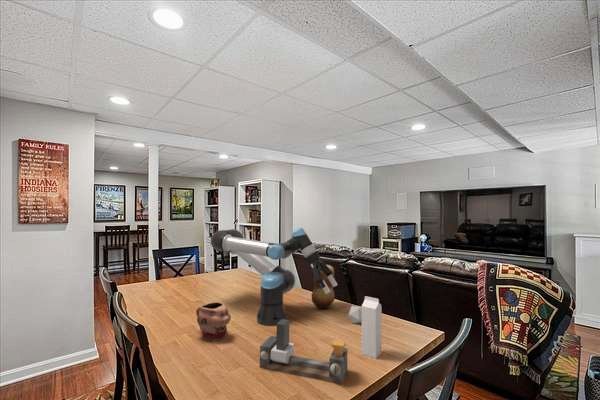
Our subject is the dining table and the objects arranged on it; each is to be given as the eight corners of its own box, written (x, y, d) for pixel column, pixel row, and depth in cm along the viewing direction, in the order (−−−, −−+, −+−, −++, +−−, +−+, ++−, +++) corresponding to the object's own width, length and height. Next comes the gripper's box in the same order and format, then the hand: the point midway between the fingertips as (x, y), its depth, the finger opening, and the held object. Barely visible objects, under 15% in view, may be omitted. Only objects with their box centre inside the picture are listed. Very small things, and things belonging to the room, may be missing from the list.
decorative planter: (184, 337, 126) (185, 305, 127) (204, 327, 137) (204, 297, 138) (219, 346, 118) (220, 312, 118) (238, 335, 129) (238, 303, 129)
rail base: (258, 367, 102) (259, 346, 102) (270, 355, 111) (270, 335, 111) (342, 385, 92) (342, 361, 92) (347, 370, 101) (347, 348, 101)
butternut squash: (328, 313, 159) (329, 267, 160) (307, 308, 165) (308, 265, 167) (338, 306, 171) (338, 264, 172) (318, 302, 177) (318, 262, 179)
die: (361, 328, 140) (370, 310, 143) (346, 318, 141) (355, 301, 145) (358, 328, 147) (366, 311, 151) (343, 318, 149) (352, 302, 152)
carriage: (270, 362, 102) (271, 324, 102) (279, 352, 109) (279, 317, 110) (286, 365, 100) (286, 327, 100) (294, 354, 107) (294, 319, 108)
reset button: (331, 356, 96) (331, 344, 97) (334, 351, 100) (334, 339, 100) (343, 358, 95) (343, 346, 95) (345, 353, 99) (345, 341, 99)
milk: (367, 348, 117) (367, 294, 119) (381, 353, 114) (381, 297, 115) (361, 354, 113) (361, 297, 114) (376, 359, 109) (375, 300, 110)
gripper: (308, 254, 143) (331, 292, 138) (323, 247, 166) (343, 280, 161) (296, 261, 145) (318, 299, 140) (313, 254, 168) (333, 286, 163)
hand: (332, 289), depth 150 cm, fingers open, 13 cm apart
